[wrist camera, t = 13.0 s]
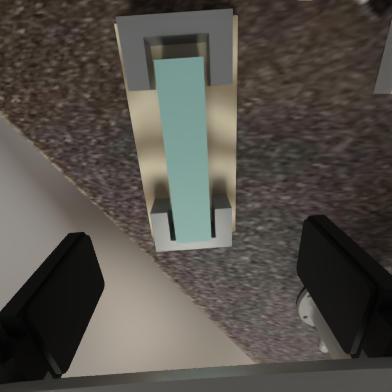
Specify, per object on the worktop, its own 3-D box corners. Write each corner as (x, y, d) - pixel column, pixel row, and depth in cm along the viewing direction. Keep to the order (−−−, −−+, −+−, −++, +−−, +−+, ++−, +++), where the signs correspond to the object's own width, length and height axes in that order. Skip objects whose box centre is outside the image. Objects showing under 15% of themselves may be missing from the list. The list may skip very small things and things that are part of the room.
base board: (233, 225, 34) (235, 231, 32) (153, 231, 34) (152, 237, 32) (234, 19, 23) (237, 15, 22) (118, 27, 23) (114, 24, 22)
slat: (207, 214, 31) (211, 240, 25) (178, 216, 31) (176, 243, 25) (199, 64, 23) (203, 56, 18) (161, 67, 23) (153, 60, 18)
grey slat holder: (226, 228, 32) (231, 246, 28) (160, 233, 32) (156, 251, 28) (225, 22, 22) (232, 8, 18) (127, 29, 22) (115, 16, 18)
